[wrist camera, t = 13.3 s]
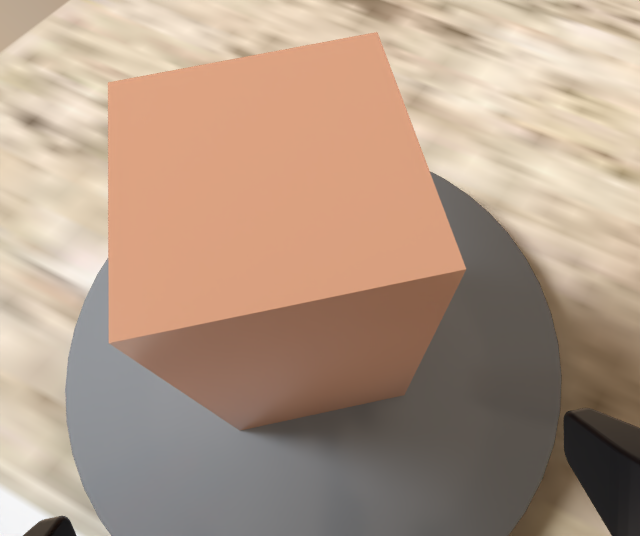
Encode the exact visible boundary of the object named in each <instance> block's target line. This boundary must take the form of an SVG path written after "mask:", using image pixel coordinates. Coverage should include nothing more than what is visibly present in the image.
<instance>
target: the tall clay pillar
mask: <svg viewBox="0 0 640 536" xmlns="http://www.w3.org/2000/svg"><path fill="white" fill-rule="evenodd" d="M465 271H466V267H465V264H464V262H463V259H462V256H461V254H460V251H459V248H458V246H457V243H456V240H455V238H454V235H453V232H452V230H451V227H450V224H449V222H448V219H447V216H446V214H445V211H444V208H443V206H442V203H441V200H440V198H439V195H438V192H437V190H436V187H435V184H434V182H433V179H432V176H431V174H430V171H429V168H428V166H427V163H426V161H425V158H424V155H423V153H422V150H421V147H420V145H419V142H418V139H417V137H416V134H415V131H414V129H413V126H412V123H411V121H410V118H409V115H408V113H407V110H406V107H405V105H404V102H403V99H402V97H401V94H400V91H399V89H398V86H397V83H396V81H395V78H394V75H393V73H392V70H391V68H390V65H389V62H388V60H387V57H386V54H385V52H384V49H383V46H382V44H381V41H380V38H379V36H378V33H377V32H376V33H370V34H365V35H360V36H354V37H349V38H343V39H338V40H333V41H327V42H322V43H317V44H311V45H306V46H301V47H295V48H290V49H285V50H279V51H274V52H269V53H263V54H258V55H253V56H247V57H242V58H237V59H231V60H226V61H221V62H215V63H210V64H205V65H199V66H194V67H188V68H183V69H178V70H172V71H167V72H162V73H156V74H151V75H146V76H140V77H135V78H130V79H124V80H119V81H114V82H108V275H109V344H111V345H112V346H114V347H115V348H117V349H118V350H120V351H121V352H123V353H124V354H126V355H127V356H129V357H130V358H132V359H133V360H135V361H136V362H138V363H139V364H141V365H142V366H144V367H145V368H147V369H148V370H150V371H151V372H153V373H154V374H156V375H157V376H159V377H160V378H162V379H163V380H165V381H166V382H168V383H169V384H171V385H172V386H174V387H175V388H177V389H178V390H180V391H181V392H183V393H184V394H186V395H187V396H189V397H190V398H192V399H193V400H195V401H196V402H198V403H199V404H201V405H202V406H204V407H205V408H207V409H208V410H210V411H211V412H213V413H214V414H215V415H217V416H218V417H220V418H221V419H223V420H224V421H226V422H227V423H229V424H230V425H232V426H233V427H235V428H236V429H238V430H239V431H241V430H245V429H250V428H254V427H259V426H264V425H268V424H273V423H278V422H282V421H287V420H292V419H296V418H301V417H305V416H310V415H315V414H319V413H324V412H329V411H333V410H338V409H343V408H347V407H352V406H356V405H361V404H366V403H370V402H375V401H380V400H384V399H389V398H394V397H398V396H403V395H405V393H406V391H407V389H408V387H409V385H410V383H411V380H412V378H413V376H414V374H415V372H416V370H417V368H418V366H419V364H420V362H421V360H422V358H423V356H424V354H425V352H426V350H427V348H428V346H429V344H430V342H431V340H432V338H433V336H434V334H435V332H436V330H437V328H438V326H439V324H440V322H441V320H442V318H443V316H444V314H445V312H446V309H447V307H448V305H449V303H450V301H451V299H452V297H453V295H454V293H455V291H456V289H457V287H458V285H459V283H460V281H461V279H462V277H463V275H464V273H465Z"/></svg>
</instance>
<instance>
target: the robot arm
mask: <svg viewBox="0 0 640 536" xmlns="http://www.w3.org/2000/svg"><path fill="white" fill-rule="evenodd" d="M564 451H565V455H566V458H567V461H568V463H569V465H570V466H571V468H572V470H573V471H574V473H575V475H576V476H577V478H578V480H579V481H580V483H581V485H582V486H583V488H584V490H585V491H586V493H587V495H588V497H589V498H590V500H591V502H592V503H593V505H594V507H595V508H596V510H597V512H598V513H599V515H600V517H601V518H602V520H603V522H604V523H605V525H606V527H607V528H608V530H609V532H610V533H611V535H612V536H640V428H639V427H636V426H634V425H631V424H628V423H626V422H623V421H621V420H618V419H616V418H613V417H611V416H608V415H606V414H603V413H601V412H598V411H596V410H593V409H590V408H582V409H578V410H573V411H568V412H567V413H566V414H565V416H564ZM23 536H76V533H75V531H74V529H73V526H72V524H71V522H70V520H69V519H68V518H67V517H65V516H59V517H54V518H49V519H44V520H42V521H40V522H38V523H37V524H36V525H35V526H33V527H32V528H31V529H30V530H29V531H28V532H27V533H25V534H24V535H23Z"/></svg>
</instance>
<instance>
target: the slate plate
mask: <svg viewBox="0 0 640 536" xmlns="http://www.w3.org/2000/svg"><path fill="white" fill-rule="evenodd" d="M430 174H431V176H432V179H433V182H434V184H435V187H436V190H437V192H438V195H439V198H440V200H441V203H442V206H443V208H444V211H445V214H446V216H447V219H448V222H449V224H450V227H451V230H452V232H453V235H454V238H455V240H456V243H457V246H458V248H459V251H460V254H461V256H462V259H463V262H464V264H465V267H466V271H465V273H464V275H463V277H462V279H461V281H460V283H459V285H458V287H457V289H456V291H455V293H454V295H453V297H452V299H451V301H450V303H449V305H448V307H447V309H446V312H445V314H444V316H443V318H442V320H441V322H440V324H439V326H438V328H437V330H436V332H435V334H434V336H433V338H432V340H431V342H430V344H429V346H428V348H427V350H426V352H425V354H424V356H423V358H422V360H421V362H420V364H419V366H418V368H417V370H416V372H415V374H414V376H413V378H412V380H411V383H410V385H409V387H408V389H407V391H406V393H405V395H403V396H398V397H394V398H389V399H384V400H380V401H375V402H370V403H366V404H361V405H356V406H352V407H347V408H343V409H338V410H333V411H329V412H324V413H319V414H315V415H310V416H305V417H301V418H296V419H292V420H287V421H282V422H278V423H273V424H268V425H264V426H259V427H254V428H250V429H245V430H241V431H239V430H238V429H236V428H235V427H233V426H232V425H230V424H229V423H227V422H226V421H224V420H223V419H221V418H220V417H218V416H217V415H215V414H214V413H213V412H211V411H210V410H208V409H207V408H205V407H204V406H202V405H201V404H199V403H198V402H196V401H195V400H193V399H192V398H190V397H189V396H187V395H186V394H184V393H183V392H181V391H180V390H178V389H177V388H175V387H174V386H172V385H171V384H169V383H168V382H166V381H165V380H163V379H162V378H160V377H159V376H157V375H156V374H154V373H153V372H151V371H150V370H148V369H147V368H145V367H144V366H142V365H141V364H139V363H138V362H136V361H135V360H133V359H132V358H130V357H129V356H127V355H126V354H124V353H123V352H121V351H120V350H118V349H117V348H115V347H114V346H112V345H111V344H109V275H108V259H107V260H106V262H105V263H104V265H103V267H102V268H101V270H100V271H99V273H98V274H97V276H96V279H95V281H94V283H93V285H92V287H91V289H90V291H89V293H88V295H87V297H86V299H85V301H84V304H83V307H82V310H81V312H80V315H79V318H78V321H77V324H76V326H75V330H74V334H73V339H72V343H71V348H70V352H69V357H68V366H67V377H66V388H65V392H66V416H67V426H68V431H69V437H70V443H71V448H72V454H73V457H74V460H75V463H76V466H77V469H78V472H79V475H80V478H81V481H82V484H83V487H84V489H85V491H86V493H87V495H88V497H89V499H90V501H91V503H92V505H93V507H94V509H95V511H96V513H97V515H98V517H99V519H100V520H101V522H102V523H103V524H104V526H105V527H106V529H107V530H108V531H109V533H110V534H111V536H508V535H509V534H510V533H511V531H512V530H513V529H514V527H515V526H516V524H517V523H518V522H519V520H520V519H521V517H522V516H523V515H524V513H525V512H526V510H527V508H528V506H529V504H530V502H531V500H532V498H533V496H534V494H535V492H536V490H537V488H538V486H539V484H540V482H541V480H542V478H543V475H544V472H545V469H546V466H547V463H548V460H549V457H550V454H551V451H552V449H553V446H554V441H555V435H556V430H557V424H558V419H559V413H560V399H561V367H560V357H559V348H558V341H557V337H556V333H555V329H554V324H553V320H552V316H551V312H550V310H549V307H548V304H547V302H546V299H545V297H544V294H543V291H542V289H541V286H540V284H539V282H538V280H537V278H536V276H535V274H534V273H533V271H532V269H531V267H530V265H529V263H528V262H527V260H526V258H525V256H524V255H523V254H522V252H521V251H520V249H519V248H518V247H517V245H516V244H515V242H514V241H513V240H512V238H511V237H510V235H509V234H508V233H507V232H506V231H505V230H504V229H503V227H502V226H501V225H500V224H499V223H498V222H497V221H496V220H495V219H494V218H493V217H492V215H491V214H490V213H489V212H488V211H486V210H485V209H484V208H483V207H482V206H481V205H479V204H478V203H477V202H476V201H475V200H474V199H472V198H471V197H470V196H469V195H468V194H466V193H465V192H463V191H462V190H460V189H459V188H457V187H456V186H454V185H453V184H451V183H450V182H448V181H447V180H445V179H444V178H442V177H440V176H438V175H436V174H434V173H432V172H430Z"/></svg>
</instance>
